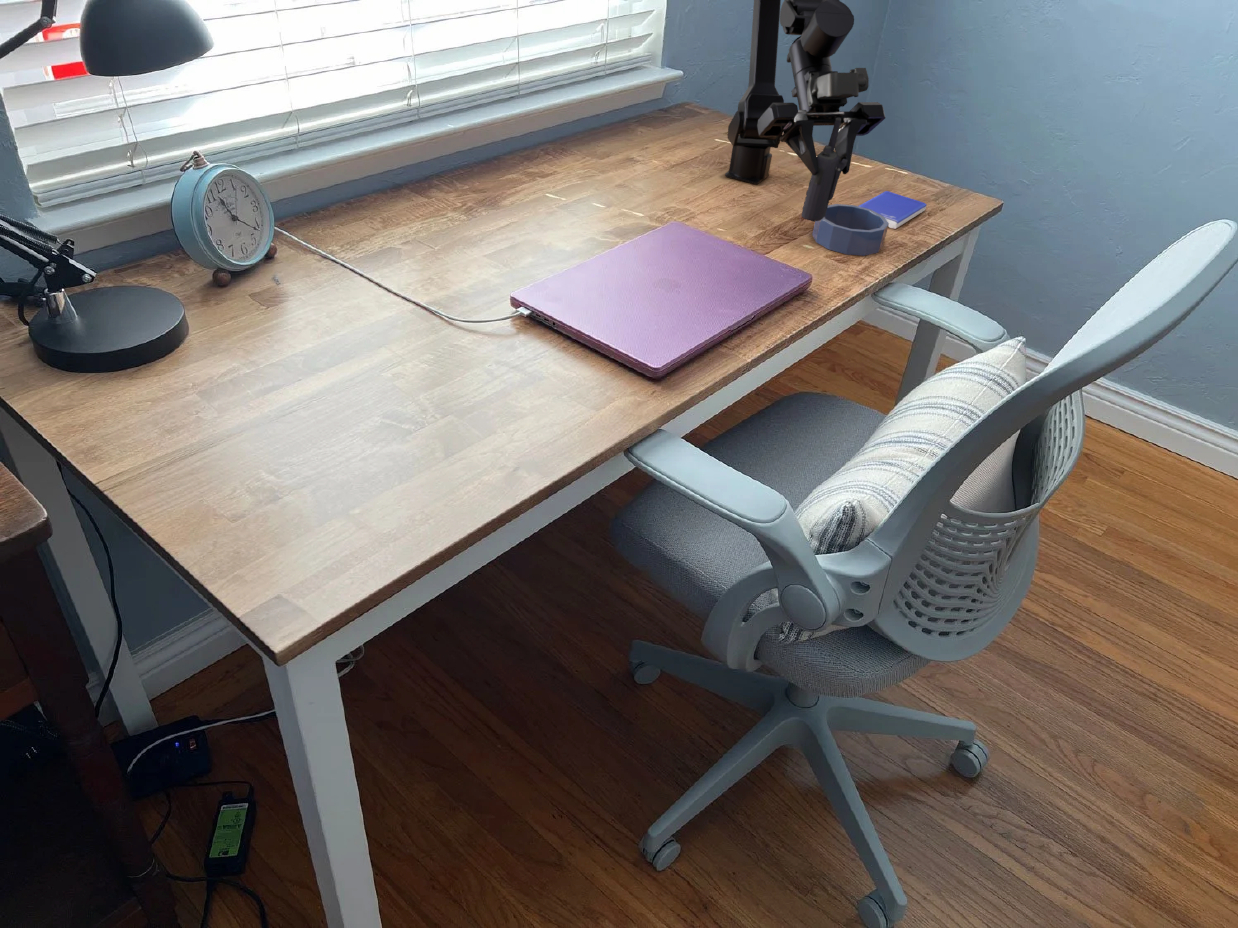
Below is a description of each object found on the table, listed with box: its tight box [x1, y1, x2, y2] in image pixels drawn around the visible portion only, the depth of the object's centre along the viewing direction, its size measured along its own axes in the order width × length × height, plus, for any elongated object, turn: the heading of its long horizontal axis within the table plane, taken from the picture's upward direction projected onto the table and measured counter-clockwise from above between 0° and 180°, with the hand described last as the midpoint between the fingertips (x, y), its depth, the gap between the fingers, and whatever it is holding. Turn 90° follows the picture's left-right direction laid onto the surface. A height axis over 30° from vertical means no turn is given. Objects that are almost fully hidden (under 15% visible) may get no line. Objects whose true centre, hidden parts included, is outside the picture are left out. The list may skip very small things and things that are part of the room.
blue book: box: [858, 190, 928, 230], centre depth 167 cm, size 2×8×12 cm
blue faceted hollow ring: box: [811, 203, 889, 257], centre depth 155 cm, size 11×11×4 cm
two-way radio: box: [801, 117, 847, 223], centre depth 143 cm, size 6×4×15 cm
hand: (830, 173), depth 141 cm, fingers closed on two-way radio, 5 cm apart
